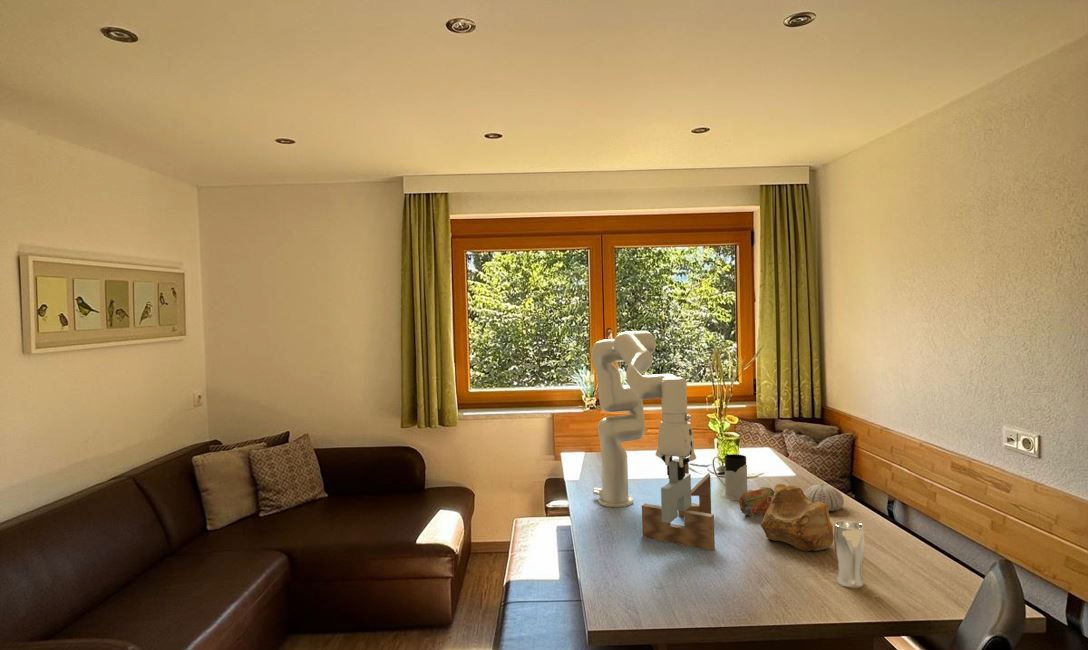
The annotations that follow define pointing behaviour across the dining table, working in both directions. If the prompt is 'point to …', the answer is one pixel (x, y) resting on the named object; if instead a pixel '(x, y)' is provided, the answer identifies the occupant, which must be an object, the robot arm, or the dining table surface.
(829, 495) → the sea urchin shell
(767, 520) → the rough brown rock
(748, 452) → the dining table surface
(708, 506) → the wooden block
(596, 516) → the dining table surface
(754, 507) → the tin
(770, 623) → the dining table surface
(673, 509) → the grey slotted plate
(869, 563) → the dining table surface
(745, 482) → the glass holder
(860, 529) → the beer glass
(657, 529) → the walnut slotted board
